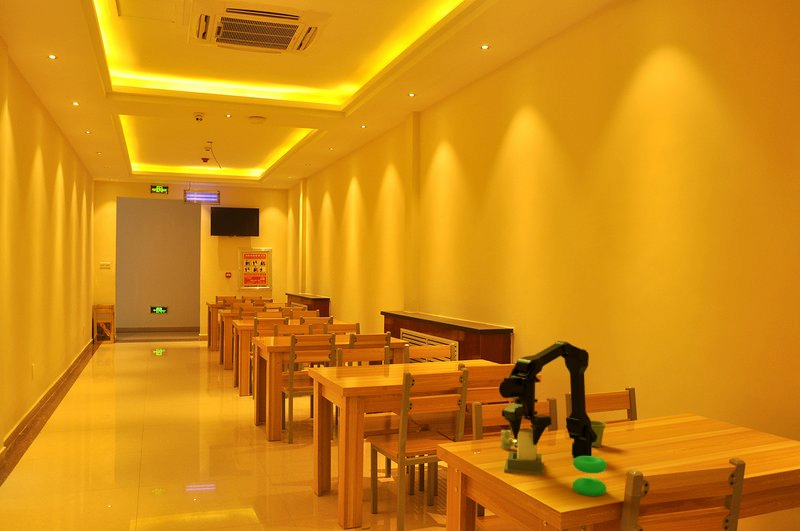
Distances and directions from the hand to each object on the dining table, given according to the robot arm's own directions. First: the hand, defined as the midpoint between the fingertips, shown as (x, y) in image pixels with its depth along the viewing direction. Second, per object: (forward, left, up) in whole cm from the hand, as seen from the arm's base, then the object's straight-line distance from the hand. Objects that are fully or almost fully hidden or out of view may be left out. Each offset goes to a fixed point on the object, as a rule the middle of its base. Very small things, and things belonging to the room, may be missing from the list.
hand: (525, 441), depth 234 cm
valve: (+5, -24, -9) cm, 26 cm away
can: (-1, 0, -8) cm, 8 cm away
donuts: (-20, +20, -9) cm, 30 cm away
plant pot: (-25, -42, -9) cm, 50 cm away
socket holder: (0, 0, -9) cm, 9 cm away
